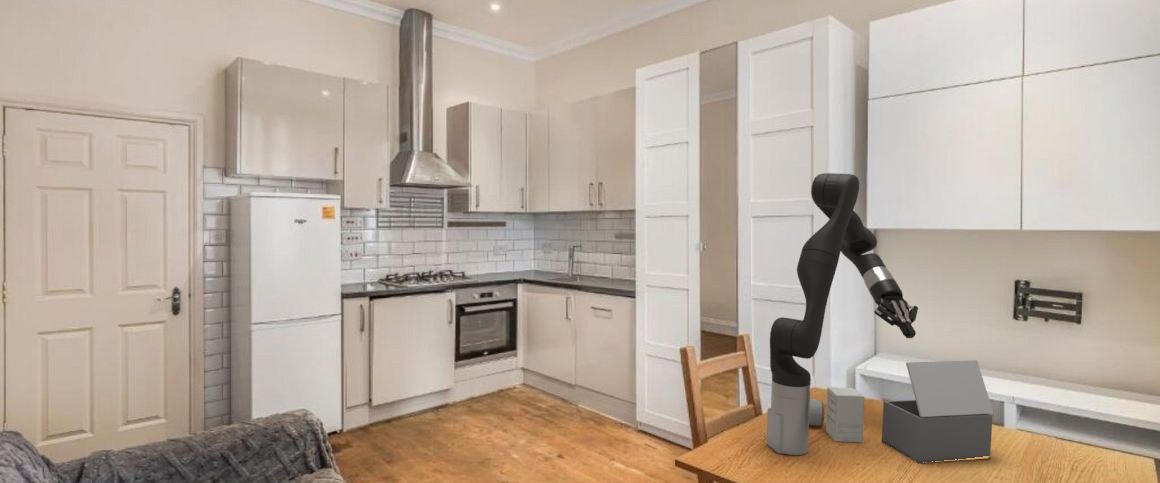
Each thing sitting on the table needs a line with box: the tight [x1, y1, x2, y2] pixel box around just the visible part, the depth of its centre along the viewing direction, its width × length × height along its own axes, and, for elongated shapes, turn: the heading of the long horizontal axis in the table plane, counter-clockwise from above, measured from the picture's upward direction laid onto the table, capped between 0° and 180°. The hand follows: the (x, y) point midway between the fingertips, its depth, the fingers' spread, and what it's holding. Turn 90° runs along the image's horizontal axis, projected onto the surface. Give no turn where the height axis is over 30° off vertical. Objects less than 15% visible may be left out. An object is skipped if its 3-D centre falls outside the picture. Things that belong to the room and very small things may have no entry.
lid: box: [905, 359, 994, 417], centre depth 141 cm, size 20×13×1 cm
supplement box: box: [825, 386, 865, 443], centre depth 153 cm, size 7×7×13 cm
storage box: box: [881, 399, 993, 464], centre depth 145 cm, size 20×13×11 cm, turn 100°
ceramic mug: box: [809, 398, 826, 427], centre depth 164 cm, size 11×8×8 cm
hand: (911, 336), depth 154 cm, fingers closed
